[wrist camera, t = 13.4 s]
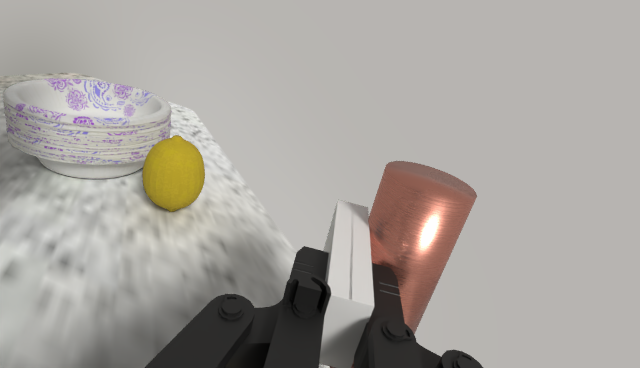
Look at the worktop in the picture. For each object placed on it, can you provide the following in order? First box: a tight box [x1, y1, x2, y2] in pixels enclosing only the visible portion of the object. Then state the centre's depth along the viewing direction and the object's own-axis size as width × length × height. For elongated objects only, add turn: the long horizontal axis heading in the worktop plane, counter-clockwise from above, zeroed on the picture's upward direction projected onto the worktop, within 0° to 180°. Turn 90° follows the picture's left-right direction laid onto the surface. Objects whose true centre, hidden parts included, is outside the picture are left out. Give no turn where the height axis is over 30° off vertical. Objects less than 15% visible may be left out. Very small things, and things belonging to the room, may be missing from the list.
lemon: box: [143, 135, 205, 212], centre depth 34 cm, size 6×6×8 cm
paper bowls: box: [3, 79, 171, 179], centre depth 40 cm, size 15×15×8 cm
